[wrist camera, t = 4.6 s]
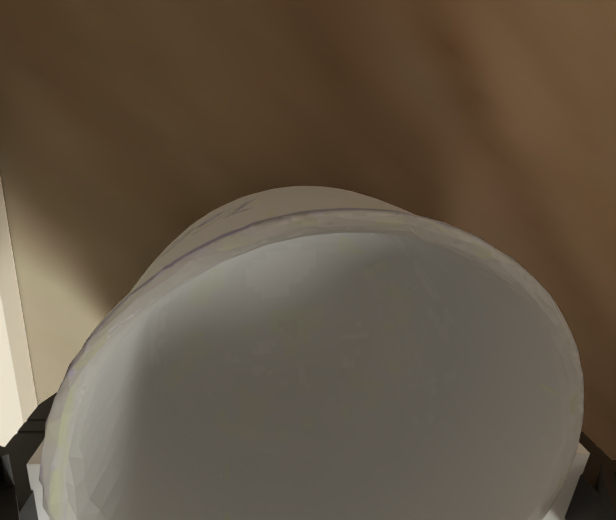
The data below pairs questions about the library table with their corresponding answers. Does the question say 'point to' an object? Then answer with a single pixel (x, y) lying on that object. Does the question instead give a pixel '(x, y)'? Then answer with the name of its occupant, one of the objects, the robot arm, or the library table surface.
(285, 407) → the teacup
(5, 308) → the beige tray
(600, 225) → the library table surface
